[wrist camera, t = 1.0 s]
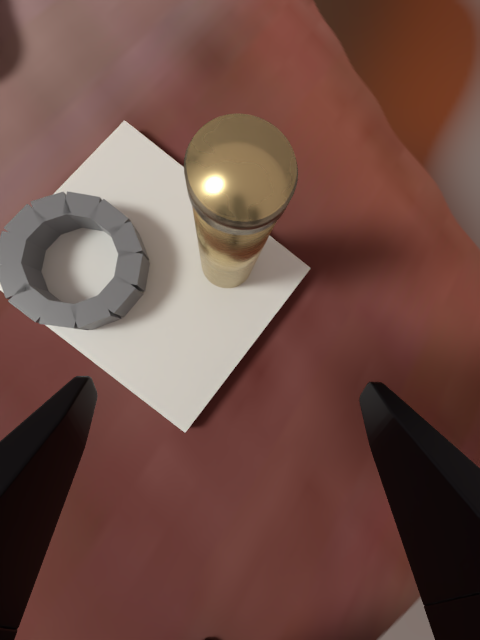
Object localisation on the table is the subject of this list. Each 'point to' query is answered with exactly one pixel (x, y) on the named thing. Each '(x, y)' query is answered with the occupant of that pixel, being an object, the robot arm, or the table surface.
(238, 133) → the brass pin
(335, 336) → the table surface
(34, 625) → the table surface
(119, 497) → the table surface
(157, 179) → the nut plate
